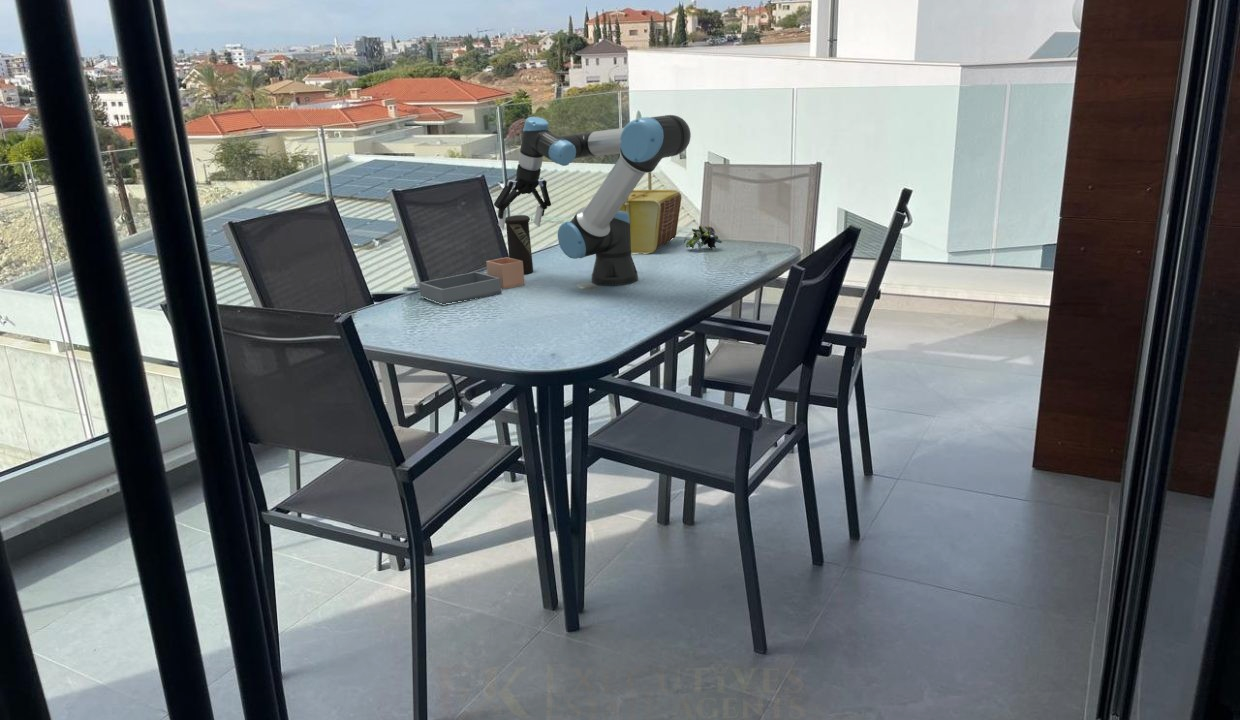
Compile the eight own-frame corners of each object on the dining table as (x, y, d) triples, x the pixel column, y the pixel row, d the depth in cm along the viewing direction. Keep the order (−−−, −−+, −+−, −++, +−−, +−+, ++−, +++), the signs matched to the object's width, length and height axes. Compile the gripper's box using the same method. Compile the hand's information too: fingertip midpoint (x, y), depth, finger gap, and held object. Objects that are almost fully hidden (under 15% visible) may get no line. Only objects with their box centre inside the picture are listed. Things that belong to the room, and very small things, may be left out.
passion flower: (710, 263, 344) (728, 238, 338) (695, 263, 335) (713, 237, 330) (690, 244, 348) (707, 219, 343) (675, 244, 339) (693, 218, 334)
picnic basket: (661, 256, 335) (658, 173, 326) (596, 254, 344) (591, 174, 335) (684, 241, 361) (681, 164, 352) (623, 240, 370) (619, 165, 361)
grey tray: (501, 293, 290) (500, 278, 289) (443, 305, 279) (441, 289, 277) (477, 286, 302) (476, 271, 301) (420, 298, 291) (418, 282, 289)
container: (522, 276, 314) (517, 218, 308) (503, 273, 320) (498, 216, 314) (539, 271, 321) (534, 214, 315) (520, 268, 326) (515, 213, 320)
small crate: (524, 284, 301) (522, 260, 298) (503, 289, 296) (501, 265, 294) (509, 280, 308) (506, 257, 306) (488, 284, 304) (486, 261, 301)
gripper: (556, 160, 303) (545, 219, 313) (489, 161, 289) (480, 222, 299) (568, 169, 298) (556, 228, 309) (500, 171, 284) (490, 233, 294)
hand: (519, 226), depth 304 cm, fingers open, 13 cm apart
